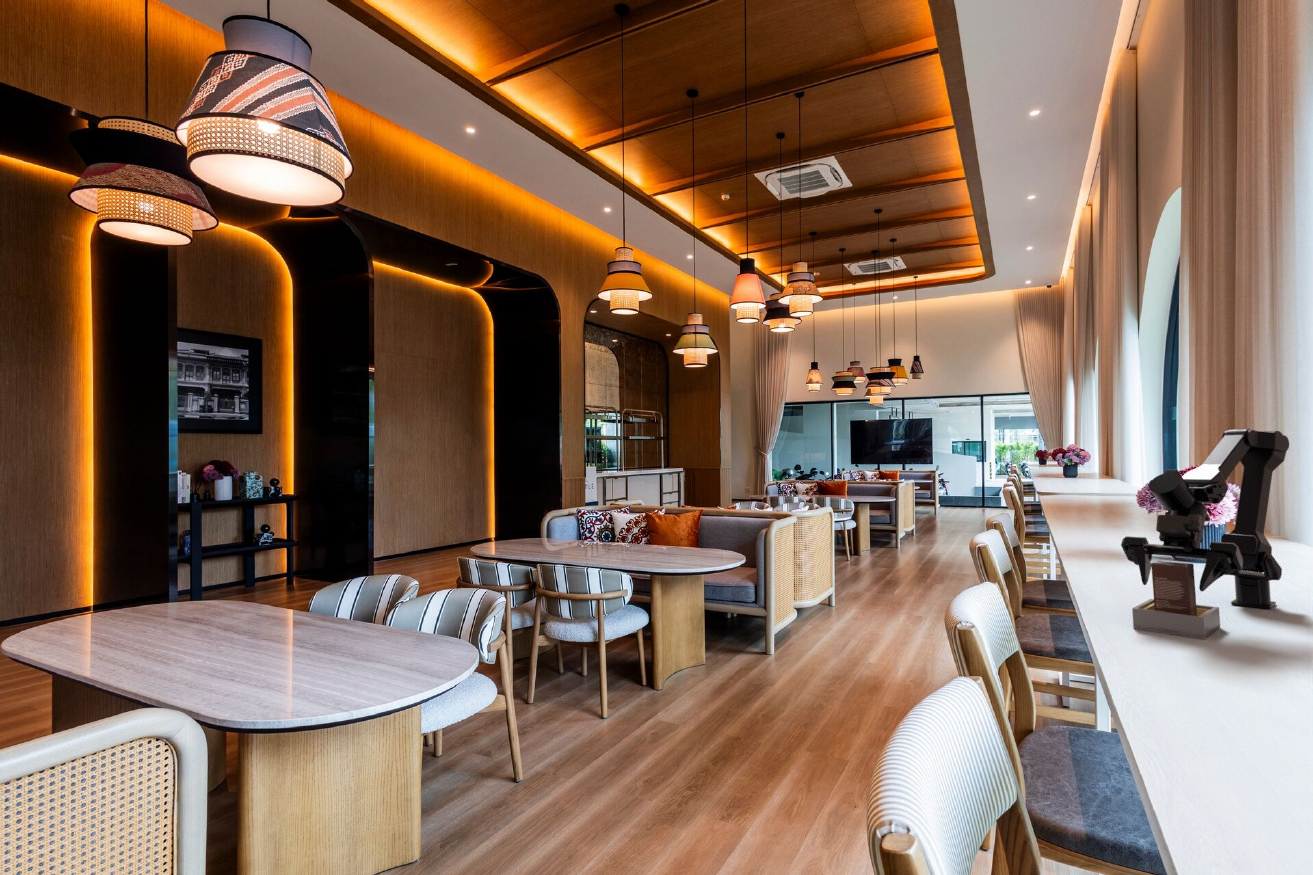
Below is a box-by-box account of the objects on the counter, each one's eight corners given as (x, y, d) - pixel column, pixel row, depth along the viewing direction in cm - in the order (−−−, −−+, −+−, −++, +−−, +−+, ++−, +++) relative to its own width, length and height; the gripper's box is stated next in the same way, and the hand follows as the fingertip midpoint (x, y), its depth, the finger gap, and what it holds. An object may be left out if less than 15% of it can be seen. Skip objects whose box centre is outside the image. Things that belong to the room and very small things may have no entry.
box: (1198, 624, 130) (1194, 563, 130) (1191, 628, 127) (1187, 566, 128) (1161, 619, 135) (1157, 559, 135) (1153, 623, 132) (1150, 562, 132)
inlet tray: (1151, 618, 139) (1150, 598, 139) (1220, 627, 130) (1219, 607, 130) (1133, 628, 132) (1132, 608, 132) (1204, 639, 123) (1203, 617, 123)
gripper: (1121, 498, 141) (1104, 556, 134) (1235, 501, 126) (1222, 567, 119) (1137, 531, 146) (1121, 589, 139) (1248, 537, 131) (1237, 603, 124)
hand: (1171, 586), depth 130 cm, fingers open, 9 cm apart
